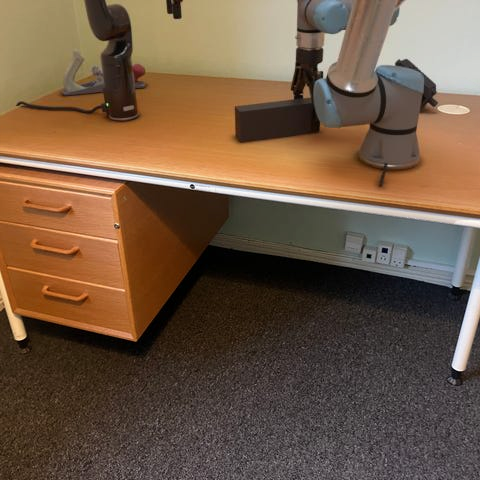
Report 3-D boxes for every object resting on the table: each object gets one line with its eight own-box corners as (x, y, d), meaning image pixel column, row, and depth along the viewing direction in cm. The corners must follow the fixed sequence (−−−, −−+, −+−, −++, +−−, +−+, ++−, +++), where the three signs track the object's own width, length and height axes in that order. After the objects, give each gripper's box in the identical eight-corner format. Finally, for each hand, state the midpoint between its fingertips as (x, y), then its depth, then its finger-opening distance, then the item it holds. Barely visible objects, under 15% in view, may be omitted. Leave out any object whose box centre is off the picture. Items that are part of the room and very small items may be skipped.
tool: (377, 89, 181) (403, 52, 170) (419, 126, 177) (449, 91, 166) (368, 93, 177) (394, 56, 166) (411, 131, 173) (441, 96, 162)
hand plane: (62, 90, 197) (53, 48, 189) (145, 82, 205) (140, 41, 197) (62, 96, 191) (54, 53, 184) (148, 87, 199) (143, 45, 191)
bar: (311, 126, 161) (313, 96, 156) (318, 132, 157) (320, 101, 152) (235, 136, 155) (234, 106, 150) (240, 142, 151) (240, 111, 146)
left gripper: (150, -52, 142) (156, 13, 150) (159, -49, 130) (165, 21, 139) (177, -53, 144) (182, 11, 152) (189, -50, 132) (193, 19, 141)
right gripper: (280, 39, 154) (279, 112, 166) (315, 58, 134) (311, 139, 146) (304, 37, 156) (301, 109, 167) (342, 55, 136) (336, 135, 148)
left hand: (174, 16), depth 146 cm, fingers open, 8 cm apart
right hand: (306, 123), depth 157 cm, fingers open, 12 cm apart
